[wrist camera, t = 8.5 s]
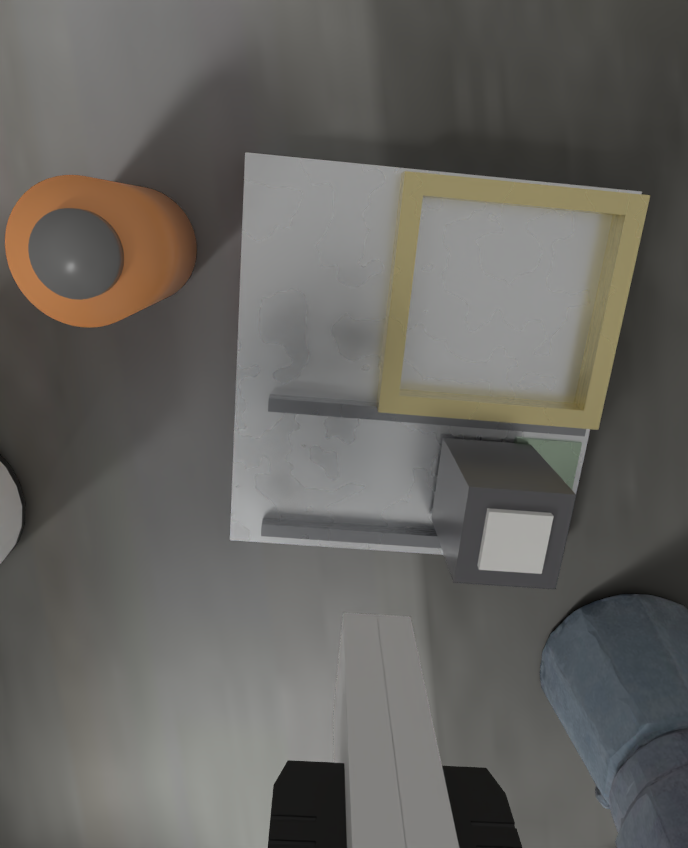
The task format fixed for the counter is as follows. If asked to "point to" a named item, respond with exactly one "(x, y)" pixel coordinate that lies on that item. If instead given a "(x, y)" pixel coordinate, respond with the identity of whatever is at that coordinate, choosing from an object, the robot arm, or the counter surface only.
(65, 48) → the counter surface
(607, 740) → the moka pot
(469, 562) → the breaker slider
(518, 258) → the panel
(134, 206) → the cap
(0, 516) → the mug
